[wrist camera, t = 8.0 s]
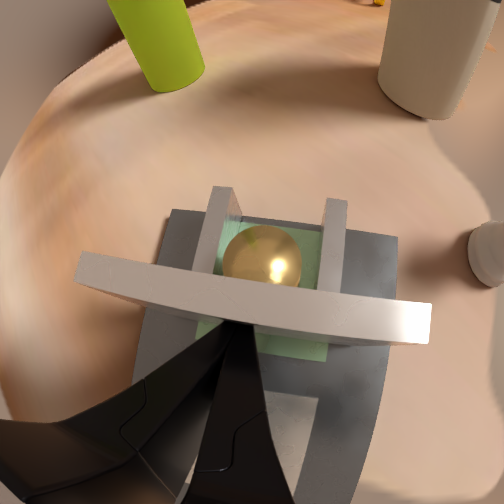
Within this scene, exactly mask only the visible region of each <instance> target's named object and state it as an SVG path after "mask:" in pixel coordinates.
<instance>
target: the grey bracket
mask: <svg viewBox="0 0 504 504" xmlns="http://www.w3.org/2000/svg"><path fill="white" fill-rule="evenodd" d="M241 217H242V212H241V209H240V207H239V204H238V201H237V198H236V196H235V193H234V190H233V188H232V187H220V186H213V189H212V193H211V196H210V200H209V204H208V207H207V211H206V215H205V219H204V222H203V226H202V230H201V234H200V238H199V242H198V246H197V250H196V254H195V258H194V262H193V267H192V271H189V270H183V269H177V268H172V267H166V266H160V265H155V264H149V263H144V262H138V261H133V260H127V259H122V258H117V257H112V256H106V255H101V254H96V253H91V252H86V251H82V252H81V256H80V259H79V263H78V266H77V270H76V273H75V277H74V282H76V283H79V284H81V285H84V286H87V287H89V288H92V289H95V290H97V291H100V292H103V293H106V294H109V295H111V296H114V297H117V298H120V299H123V300H126V301H129V302H132V303H135V304H138V305H141V306H144V307H147V308H150V309H154V310H157V311H160V312H163V313H167V314H170V315H173V316H178V317H182V318H186V319H191V320H195V321H200V322H205V323H210V324H214V325H219V324H220V323H222V322H223V321H228V322H234V323H238V324H244V325H250V326H254V330H255V332H257V333H262V334H268V335H275V336H281V337H287V338H294V339H301V340H308V341H315V342H323V343H331V344H340V345H349V346H393V345H415V344H428V338H429V328H430V316H431V304H428V303H418V302H409V301H400V300H391V299H383V298H374V297H366V296H358V295H350V294H343V293H340V287H341V278H342V268H343V258H344V246H345V233H346V217H347V201H346V200H339V199H332V198H327V199H326V204H325V209H324V214H323V218H322V223H321V232H320V241H319V250H318V258H317V266H316V274H315V282H314V289H305V288H298V287H291V286H284V285H278V284H271V283H264V282H258V281H251V280H244V279H238V278H232V277H225V276H224V273H223V267H222V262H223V256H224V252H225V250H226V248H227V246H228V244H229V243H230V241H231V240H232V239H233V238H234V237H235V236H236V235H237V234H238V231H239V226H240V221H241Z"/></svg>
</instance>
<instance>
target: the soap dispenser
mask: <svg viewBox="0 0 504 504" xmlns="http://www.w3.org/2000/svg"><path fill="white" fill-rule="evenodd" d="M107 2H108V4H109V6H110V8H111V10H112V12H113V14H114V16H115V18H116V20H117V22H118V24H119V26H120V28H121V30H122V32H123V34H124V36H125V38H126V40H127V42H128V44H129V46H130V48H131V50H132V52H133V54H134V56H135V58H136V60H137V61H138V63H139V65H140V67H141V69H142V71H143V73H144V75H145V77H146V79H147V81H148V83H149V85H150V87H151V88H152V89H153V90H154V91H157V92H170V91H175V90H178V89H181V88H183V87H186V86H188V85H189V84H191V83H193V82H194V81H195V80H197V79H198V78H199V77H200V76H201V75H202V73H203V72H204V69H205V65H204V62H203V58H202V55H201V52H200V49H199V46H198V43H197V40H196V37H195V34H194V31H193V28H192V25H191V22H190V19H189V16H188V13H187V10H186V7H185V4H184V0H107Z"/></svg>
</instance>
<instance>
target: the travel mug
mask: <svg viewBox="0 0 504 504" xmlns="http://www.w3.org/2000/svg"><path fill="white" fill-rule="evenodd" d="M500 4H501V0H391V6H390V12H389V19H388V25H387V30H386V36H385V42H384V47H383V52H382V57H381V62H380V67H379V71H378V77H377V78H378V83H379V85H380V87H381V89H382V90H383V92H384V93H385V94H386V95H387V96H388V97H389V98H390V99H391V100H392V101H393V102H395V103H396V104H397V105H399V106H400V107H402V108H404V109H405V110H407V111H409V112H411V113H413V114H415V115H418V116H420V117H423V118H427V119H432V120H444V119H448V118H450V117H451V116H452V115H453V114H454V112H455V110H456V108H457V106H458V104H459V102H460V100H461V98H462V96H463V94H464V92H465V90H466V88H467V86H468V83H469V82H470V79H471V77H472V75H473V73H474V71H475V69H476V66H477V64H478V62H479V59H480V57H481V55H482V52H483V50H484V48H485V45H486V43H487V40H488V38H489V35H490V32H491V30H492V27H493V24H494V21H495V18H496V16H497V13H498V10H499V7H500Z"/></svg>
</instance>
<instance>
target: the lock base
mask: <svg viewBox="0 0 504 504" xmlns="http://www.w3.org/2000/svg"><path fill="white" fill-rule="evenodd" d="M205 215H206V212H200V211H190V210H179V209H172V211H171V215H170V218H169V221H168V225H167V228H166V231H165V235H164V238H163V242H162V246H161V249H160V253H159V257H158V260H157V264H156V265H160V266H166V267H172V268H177V269H183V270H189V271H192V267H193V262H194V258H195V254H196V250H197V246H198V242H199V238H200V234H201V230H202V226H203V222H204V219H205ZM320 232H321V225H313V224H306V223H298V222H290V221H282V220H274V219H265V218H257V217H248V216H242V217H241V221H240V226H239V231H238V234H237V235H236V236H235V237H234V238H233V239H232V240H231V241H230V243H229V244H228V246H227V248H226V250H225V252H224V256H223V262H222V267H223V273H224V276H225V277H232V278H238V279H244V280H251V281H258V282H264V283H271V284H278V285H284V286H291V287H298V288H305V289H314V282H315V274H316V266H317V258H318V250H319V241H320ZM397 252H398V237H395V236H389V235H383V234H376V233H370V232H363V231H356V230H349V229H346V233H345V246H344V258H343V268H342V278H341V287H340V293H343V294H350V295H358V296H366V297H374V298H383V299H391V300H395V295H396V279H397ZM216 326H218V325H214V324H210V323H205V322H200V321H195V320H191V319H186V318H182V317H178V316H173V315H170V314H167V313H163V312H160V311H157V310H154V309H150V308H147V307H146V310H145V314H144V319H143V324H142V329H141V334H140V339H139V344H138V349H137V354H136V360H135V366H134V372H133V378H132V384H131V385H133V384H135V383H136V382H138V381H139V380H140V379H144V377H145V376H147V375H148V374H149V373H151V372H152V371H154V370H155V369H157V368H158V367H160V366H161V365H163V364H164V363H165V362H167V361H168V360H170V359H171V358H173V357H174V356H176V355H177V354H178V353H180V352H181V351H183V350H184V349H185V348H187V347H188V346H190V345H191V344H193V343H194V342H195V341H197V340H198V339H200V338H201V337H202V336H204V335H205V334H206V333H208V332H209V331H211V330H212V329H213V328H215V327H216ZM255 337H256V343H257V350H258V356H259V362H260V369H261V375H262V382H263V388H264V394H265V400H266V407H267V412H268V418H269V424H270V429H271V434H272V439H273V442H274V445H275V449H276V452H277V455H278V458H279V461H280V464H281V467H282V469H283V472H284V475H285V478H286V480H287V483H288V486H289V489H290V491H291V494H292V496H293V499H294V501H295V503H296V504H350V502H351V500H352V497H353V494H354V492H355V489H356V486H357V483H358V480H359V478H360V475H361V472H362V468H363V465H364V462H365V459H366V456H367V452H368V449H369V445H370V442H371V438H372V434H373V431H374V427H375V423H376V419H377V414H378V410H379V406H380V401H381V396H382V391H383V386H384V381H385V375H386V370H387V364H388V357H389V350H390V346H349V345H340V344H331V343H323V342H315V341H308V340H301V339H294V338H287V337H281V336H275V335H268V334H262V333H257V332H255ZM197 456H198V455H197ZM196 460H197V457H196V459H195V461H194V464H193V466H192V468H191V470H190V472H189V474H188V476H187V478H186V481H185V483H184V485H183V487H182V489H181V491H180V493H179V495H178V497H177V499H176V501H175V503H174V504H180V503H181V501H182V500H183V498H184V496H185V494H186V492H187V490H188V487H189V485H190V482H191V478H192V475H193V473H194V472H193V471H194V467H195V463H196Z"/></svg>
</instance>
